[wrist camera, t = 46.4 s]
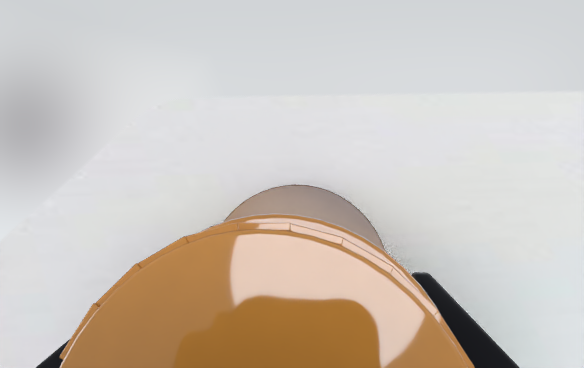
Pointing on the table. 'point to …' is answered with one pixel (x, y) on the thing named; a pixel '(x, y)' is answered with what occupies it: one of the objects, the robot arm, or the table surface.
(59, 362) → the robot arm
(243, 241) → the jar
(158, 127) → the table surface
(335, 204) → the coaster
